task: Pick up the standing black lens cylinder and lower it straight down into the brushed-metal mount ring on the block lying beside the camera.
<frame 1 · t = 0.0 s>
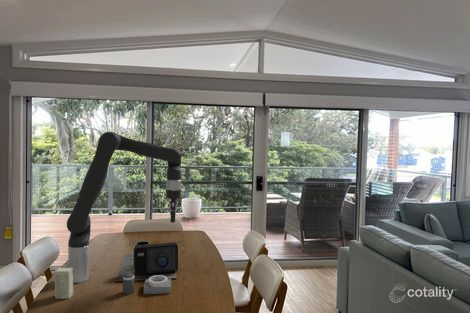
hand: (172, 220, 175), 29 cm above the table, tool pointing down, fingers open, 8 cm apart
mount block: (157, 289, 162), on the table
camera: (156, 274, 181), on the table
skincare box: (64, 297, 152), on the table
lens: (128, 292, 158), on the table
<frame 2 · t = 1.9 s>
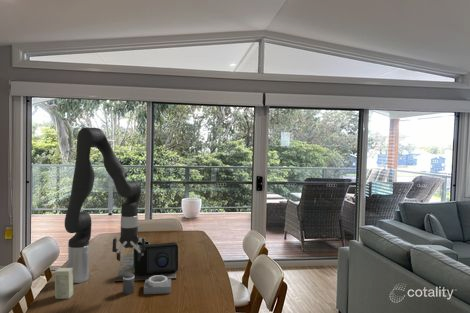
hand: (129, 260, 157), 15 cm above the table, tool pointing down, fingers open, 8 cm apart
nothing on the table moved.
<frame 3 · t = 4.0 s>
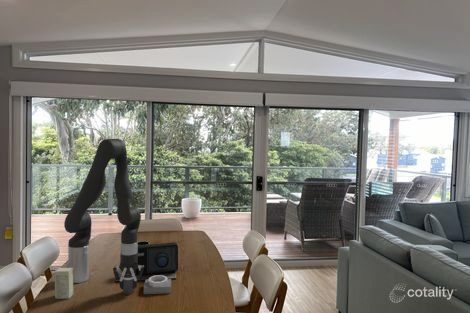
hand: (128, 288, 158), 2 cm above the table, tool pointing down, fingers closed on lens, 4 cm apart
lens: (128, 292, 158), on the table, touching gripper
everything else where it was.
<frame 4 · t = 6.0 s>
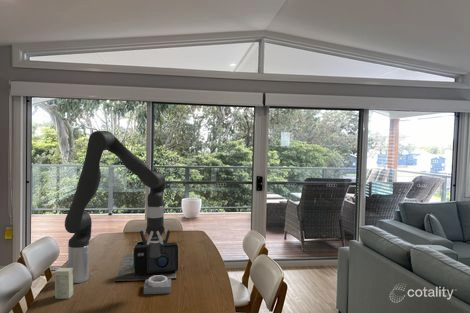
hand: (155, 251, 160), 18 cm above the table, tool pointing down, fingers closed on lens, 4 cm apart
lens: (155, 255, 160), point 16 cm above the table, touching gripper
everything else where it was.
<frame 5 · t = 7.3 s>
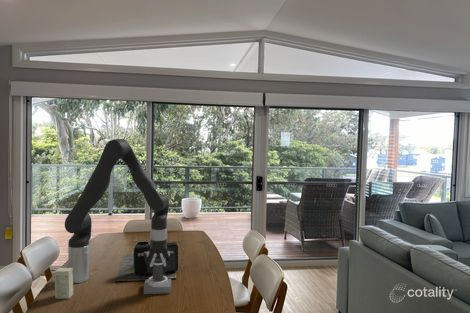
hand: (158, 273, 162), 8 cm above the table, tool pointing down, fingers closed on lens, 4 cm apart
lens: (158, 277, 162), point 6 cm above the table, touching gripper
everything else where it was.
when the fingers open (6 cm above the table, at t = 8.4 s): lens stays where it is, resting on mount block.
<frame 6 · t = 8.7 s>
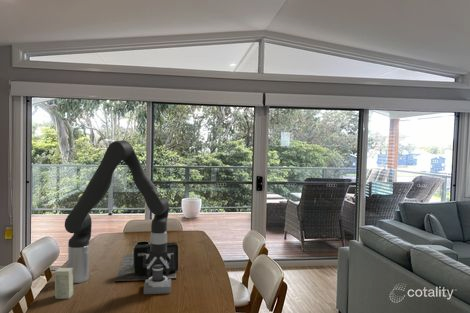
hand: (158, 275, 162), 7 cm above the table, tool pointing down, fingers open, 7 cm apart
lens: (157, 283, 162), point 3 cm above the table, touching mount block
everything else where it was.
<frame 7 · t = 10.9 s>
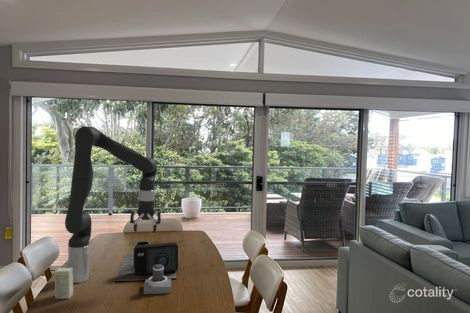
hand: (145, 231, 168), 25 cm above the table, tool pointing down, fingers open, 8 cm apart
nothing on the table moved.
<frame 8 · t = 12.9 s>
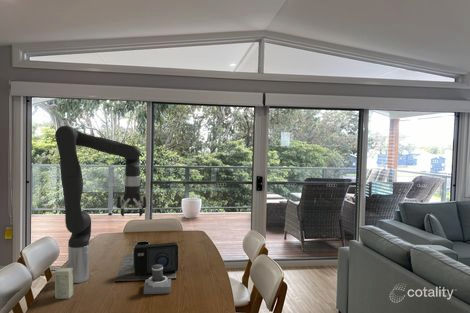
hand: (131, 216, 178), 30 cm above the table, tool pointing down, fingers open, 8 cm apart
nothing on the table moved.
at the end: lens 0.1 cm off-centre on the mount block, point 3.1 cm above the mount block's base; lens tilted 2°; the gripper is holding nothing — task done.
